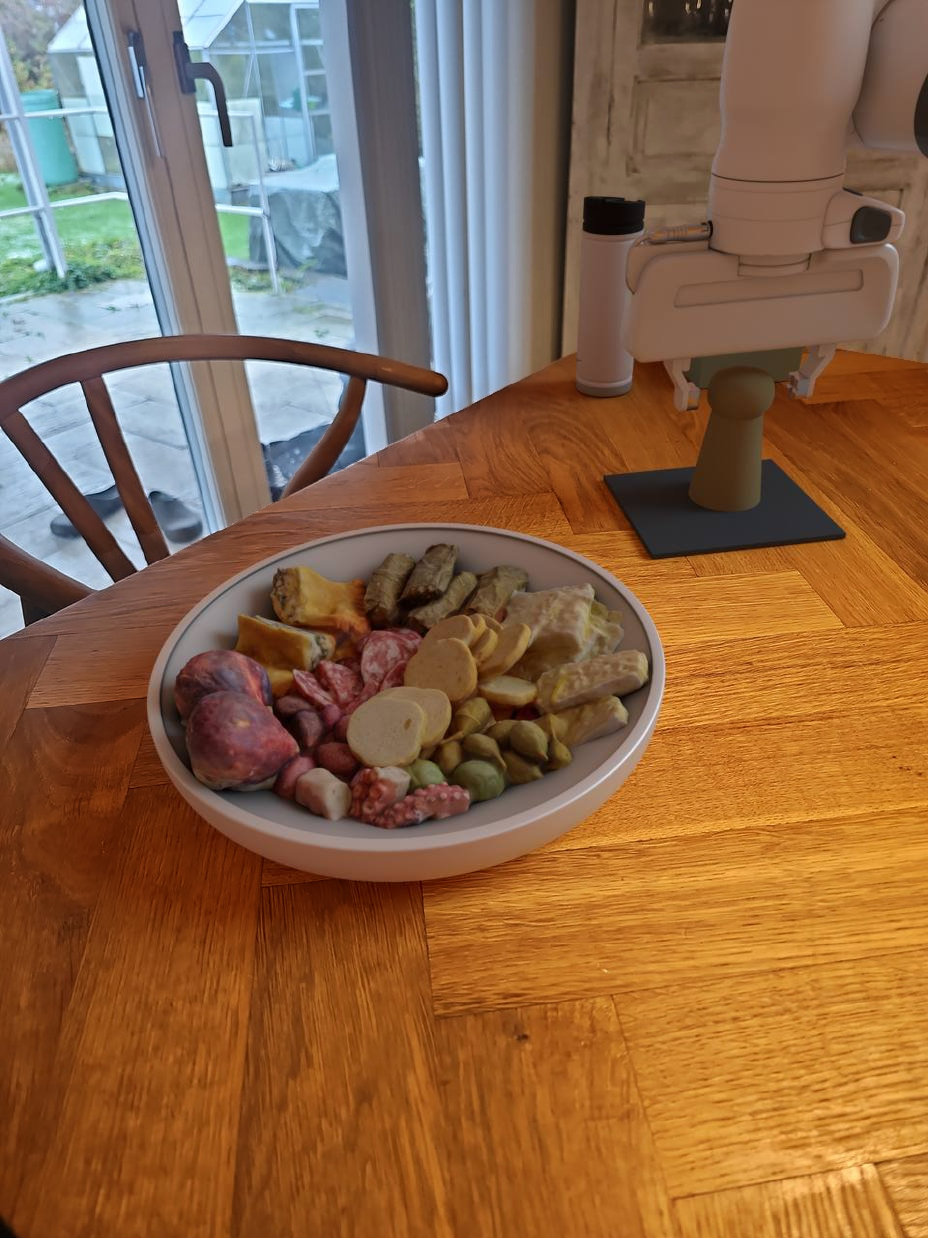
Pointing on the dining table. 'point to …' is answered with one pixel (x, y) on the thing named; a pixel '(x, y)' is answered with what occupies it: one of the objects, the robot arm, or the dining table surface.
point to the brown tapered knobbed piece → (733, 440)
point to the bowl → (407, 700)
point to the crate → (746, 364)
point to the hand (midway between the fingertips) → (742, 402)
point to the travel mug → (605, 294)
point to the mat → (717, 514)
